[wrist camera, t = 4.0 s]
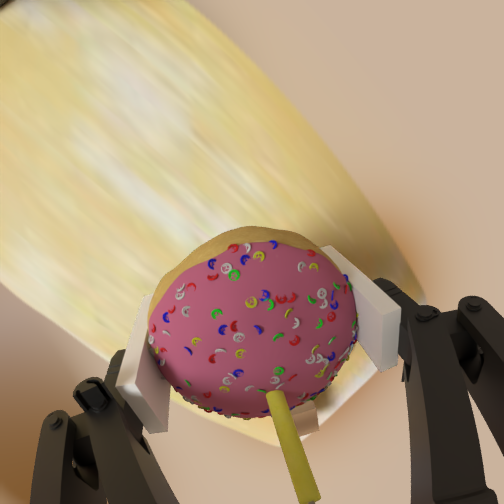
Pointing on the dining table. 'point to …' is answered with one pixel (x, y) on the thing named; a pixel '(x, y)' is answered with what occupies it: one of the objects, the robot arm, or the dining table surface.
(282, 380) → the cupcake
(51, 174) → the dining table surface
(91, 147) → the dining table surface
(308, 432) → the walnut block
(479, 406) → the robot arm
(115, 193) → the dining table surface
